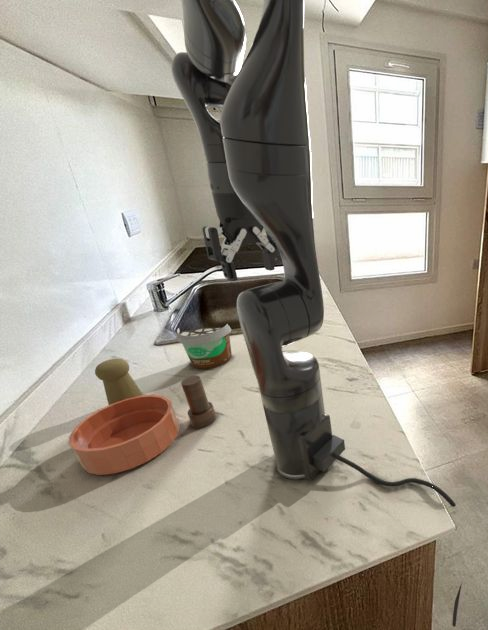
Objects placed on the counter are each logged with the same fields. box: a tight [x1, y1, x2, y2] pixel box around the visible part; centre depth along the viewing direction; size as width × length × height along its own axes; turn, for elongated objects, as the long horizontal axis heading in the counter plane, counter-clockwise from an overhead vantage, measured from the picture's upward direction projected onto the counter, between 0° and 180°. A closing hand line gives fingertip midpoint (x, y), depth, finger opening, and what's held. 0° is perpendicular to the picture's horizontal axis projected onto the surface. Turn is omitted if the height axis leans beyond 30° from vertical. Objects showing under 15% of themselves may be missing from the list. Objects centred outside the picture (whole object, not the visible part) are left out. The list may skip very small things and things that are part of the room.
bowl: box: [68, 394, 181, 476], centre depth 61 cm, size 14×14×6 cm
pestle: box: [180, 375, 217, 429], centre depth 66 cm, size 4×4×10 cm
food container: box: [176, 323, 233, 370], centre depth 84 cm, size 12×6×10 cm, turn 105°
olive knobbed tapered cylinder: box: [94, 357, 144, 405], centre depth 70 cm, size 6×6×11 cm
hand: (252, 274), depth 67 cm, fingers open, 8 cm apart
